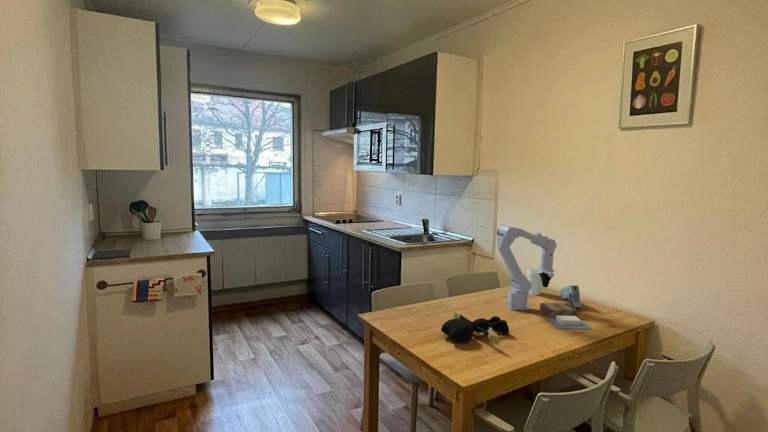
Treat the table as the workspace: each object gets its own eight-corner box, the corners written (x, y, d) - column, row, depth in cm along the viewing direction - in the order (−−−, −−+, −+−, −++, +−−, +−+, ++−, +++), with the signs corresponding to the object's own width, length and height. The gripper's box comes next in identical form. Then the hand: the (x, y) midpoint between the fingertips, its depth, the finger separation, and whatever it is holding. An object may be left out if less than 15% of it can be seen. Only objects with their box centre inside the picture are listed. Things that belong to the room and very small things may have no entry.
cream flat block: (556, 315, 202) (555, 319, 202) (561, 320, 196) (561, 324, 196) (575, 315, 202) (574, 319, 202) (581, 320, 196) (580, 324, 196)
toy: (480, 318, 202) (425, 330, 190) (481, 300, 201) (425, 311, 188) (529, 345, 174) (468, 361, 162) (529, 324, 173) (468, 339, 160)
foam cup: (525, 289, 249) (527, 268, 248) (542, 291, 247) (544, 269, 245) (526, 294, 240) (528, 272, 239) (544, 296, 238) (545, 273, 236)
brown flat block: (547, 317, 205) (548, 309, 204) (539, 310, 215) (540, 302, 214) (576, 318, 205) (577, 310, 205) (567, 311, 215) (568, 303, 214)
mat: (557, 328, 191) (557, 328, 191) (546, 318, 204) (546, 317, 204) (593, 329, 192) (593, 328, 192) (579, 318, 205) (579, 318, 205)
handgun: (567, 311, 233) (565, 289, 236) (582, 308, 215) (579, 284, 219) (560, 311, 233) (558, 289, 236) (575, 308, 215) (572, 284, 219)
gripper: (560, 264, 212) (558, 291, 214) (549, 258, 227) (547, 283, 229) (546, 264, 212) (544, 291, 214) (535, 257, 227) (534, 282, 229)
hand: (545, 287), depth 221 cm, fingers closed
